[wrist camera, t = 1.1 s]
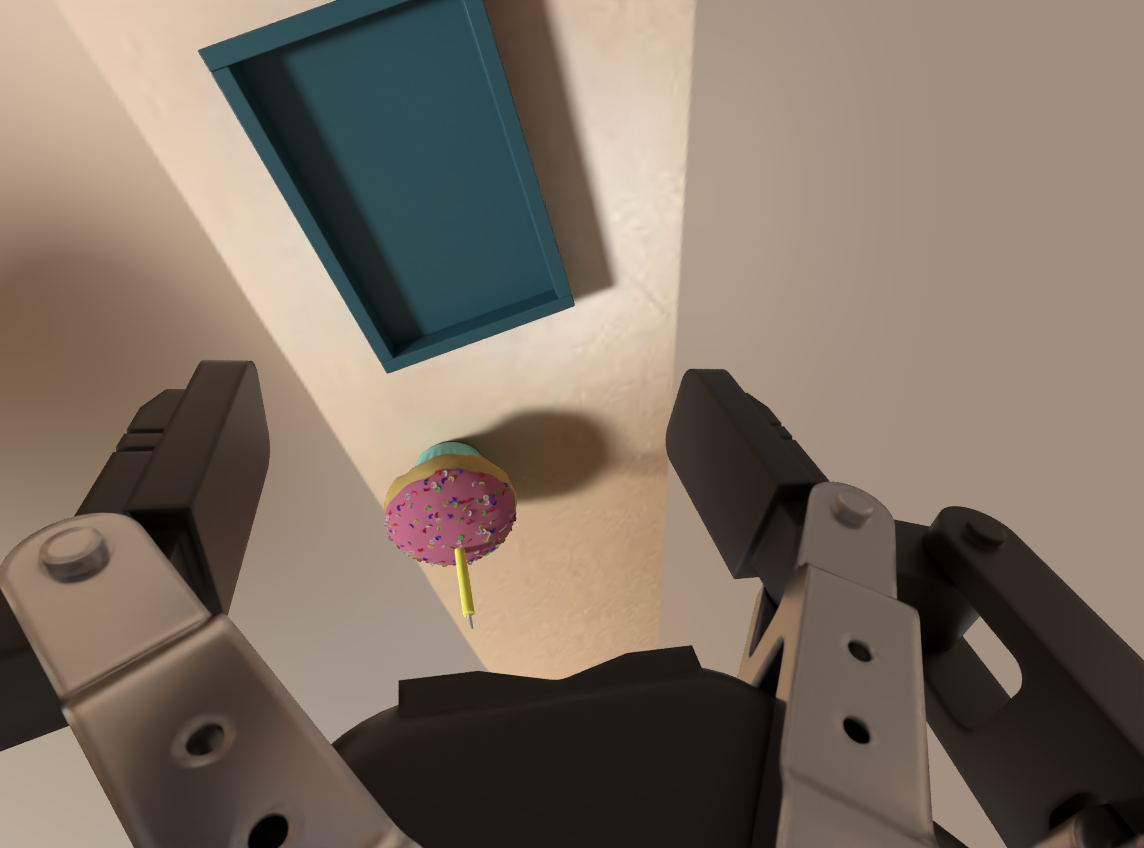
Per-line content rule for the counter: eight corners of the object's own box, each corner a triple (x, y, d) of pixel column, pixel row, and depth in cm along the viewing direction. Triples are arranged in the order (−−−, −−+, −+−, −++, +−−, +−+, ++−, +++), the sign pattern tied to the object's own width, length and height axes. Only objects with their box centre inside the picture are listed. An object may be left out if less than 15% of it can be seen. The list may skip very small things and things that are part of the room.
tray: (210, 45, 25) (196, 50, 24) (464, -46, 25) (468, -48, 24) (387, 356, 36) (387, 374, 34) (568, 291, 36) (575, 306, 34)
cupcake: (521, 489, 45) (551, 625, 35) (414, 524, 44) (415, 670, 35) (486, 402, 39) (511, 535, 30) (363, 441, 39) (349, 588, 30)
